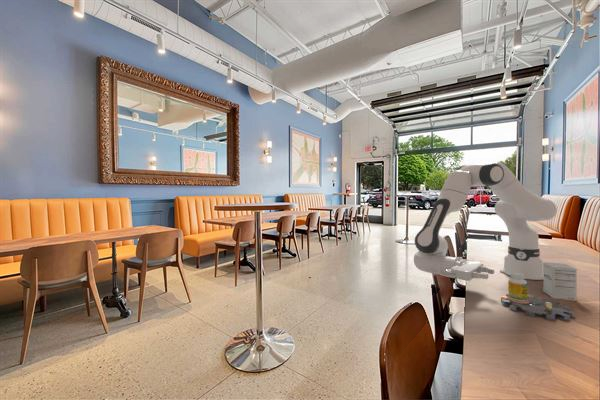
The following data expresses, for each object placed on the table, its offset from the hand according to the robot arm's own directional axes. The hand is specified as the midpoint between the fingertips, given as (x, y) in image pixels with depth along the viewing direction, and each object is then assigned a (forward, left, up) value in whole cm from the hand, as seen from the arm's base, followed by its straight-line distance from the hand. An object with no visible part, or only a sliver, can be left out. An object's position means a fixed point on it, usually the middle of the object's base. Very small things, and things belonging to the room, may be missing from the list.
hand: (490, 274), depth 101 cm
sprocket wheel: (0, +13, -9) cm, 16 cm away
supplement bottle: (0, +8, -8) cm, 11 cm away
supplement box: (-21, +18, -10) cm, 29 cm away
